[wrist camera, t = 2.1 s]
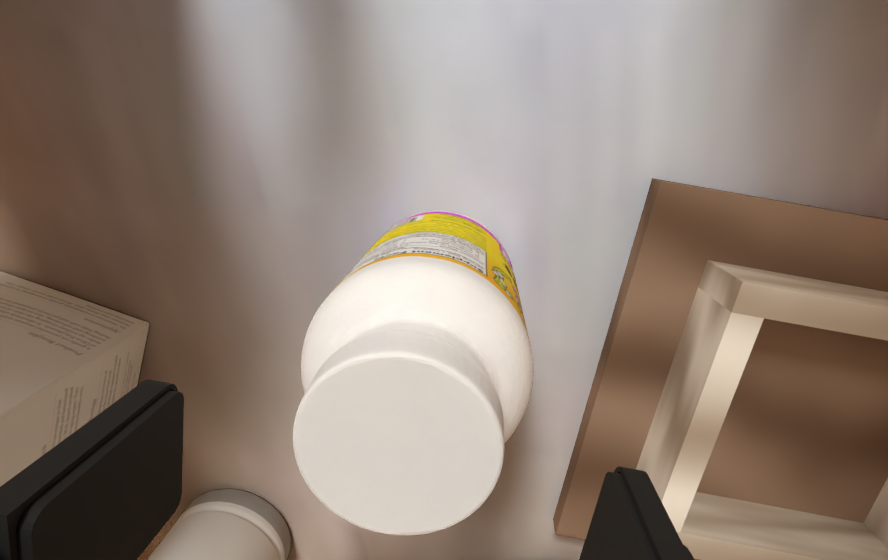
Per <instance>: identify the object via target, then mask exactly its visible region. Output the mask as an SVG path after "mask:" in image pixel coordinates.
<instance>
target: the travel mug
mask: <svg viewBox="0 0 888 560" xmlns="http://www.w3.org/2000/svg"><path fill="white" fill-rule="evenodd" d="M290 548H291V537H290V533H289V529H288V527H287V524H286V522H285V520H284V519H283V517H282V516H281V515H280V513H279V512H278V511H277V510H276V509H275V508H274V507H273V506H272V505H271V504H270V503H268V502H267V501H265V500H264V499H262V498H260V497H258V496H256V495H254V494H252V493H249V492H246V491H242V490H236V489H218V490H213V491H209V492H206V493H204V494H202V495H200V496H198V497H197V498H196V499H194V500H193V501H192V502H191V503H190V504H189V505H188V507H187V508H186V509H185V511H184V512H183V513H182V515H181V516H180V517H179V518H178V520H177V521H176V522H175V524H174V525H173V527H172V528H171V529H170V530H169V532H168V533H167V534H166V535H165V537H164V538H163V539H162V541H161V542H160V543H159V545H158V546H157V547H156V549H155V550H154V551H153V552H152V554H151V555H150V556H149V558H148V559H147V560H287V558H288V556H289V552H290Z"/></svg>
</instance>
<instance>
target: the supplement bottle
mask: <svg viewBox="0 0 888 560" xmlns="http://www.w3.org/2000/svg"><path fill="white" fill-rule="evenodd" d="M301 378H302V384H303V389H304V394H305V395H304V396H303V398H302V401H301V403H300V405H299V407H298V410H297V413H296V416H295V421H294V426H293V448H294V454H295V458H296V462H297V465H298V468H299V470H300V473H301V475H302V477H303V478H304V480H305V482H306V484H307V485H308V487H309V488H310V489H311V491H312V492H313V493H314V494H315V496H316V497H317V498H318V499H319V500H320V501H321V502H322V503H323V504H324V505H325V506H326V507H327V508H328V509H329V510H330V511H332V512H333V513H335V514H336V515H338V516H339V517H341V518H343V519H344V520H346V521H348V522H350V523H352V524H354V525H356V526H358V527H361V528H364V529H367V530H370V531H374V532H379V533H384V534H391V535H419V534H428V533H432V532H436V531H440V530H443V529H446V528H448V527H451V526H453V525H455V524H457V523H459V522H461V521H463V520H464V519H466V518H467V517H469V516H470V515H471V514H473V513H474V512H475V511H476V510H477V509H478V508H479V507H480V506H481V505H482V504H483V503H484V502H485V501H486V500H487V498H488V497H489V496H490V494H491V493H492V491H493V489H494V488H495V486H496V484H497V482H498V479H499V477H500V473H501V470H502V466H503V461H504V444H505V443H506V441H507V440H508V439H509V438H510V437H511V435H512V434H513V433H514V431H515V430H516V428H517V427H518V425H519V423H520V422H521V420H522V418H523V416H524V414H525V411H526V409H527V406H528V403H529V399H530V396H531V391H532V384H533V359H532V352H531V346H530V342H529V337H528V333H527V329H526V325H525V320H524V316H523V312H522V307H521V302H520V297H519V293H518V289H517V284H516V280H515V276H514V272H513V268H512V265H511V262H510V259H509V257H508V254H507V252H506V250H505V249H504V247H503V245H502V244H501V242H500V241H499V240H498V238H497V237H496V236H495V235H494V234H493V233H492V232H491V231H490V230H489V229H488V228H487V227H485V226H484V225H483V224H481V223H480V222H478V221H476V220H475V219H473V218H470V217H468V216H466V215H463V214H460V213H456V212H449V211H427V212H422V213H418V214H415V215H412V216H409V217H407V218H405V219H403V220H401V221H400V222H398V223H396V224H395V225H394V226H392V227H391V228H390V229H389V230H388V231H386V232H385V233H384V234H383V235H382V236H381V237H380V239H379V240H378V241H377V242H376V243H375V244H374V245H373V246H372V248H371V249H370V250H369V251H368V252H367V253H366V254H365V256H364V257H363V258H362V259H361V260H360V261H359V262H358V263H357V265H356V266H355V267H354V268H353V269H352V270H351V271H350V273H349V274H348V275H347V276H346V277H345V278H344V279H343V280H342V281H341V282H340V283H339V284H338V286H337V287H336V288H335V289H334V290H333V291H332V292H331V293H330V295H329V296H328V297H327V298H326V299H325V300H324V302H323V303H322V304H321V306H320V307H319V309H318V310H317V312H316V314H315V315H314V317H313V319H312V321H311V323H310V326H309V328H308V330H307V333H306V336H305V340H304V344H303V349H302V356H301Z"/></svg>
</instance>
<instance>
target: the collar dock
mask: <svg viewBox="0 0 888 560" xmlns="http://www.w3.org/2000/svg"><path fill="white" fill-rule="evenodd" d="M619 466H620V467H625V468H631V469H636V470H642V471H645V472H646V473H647V474H648V476H649V478H650V480H651V482H652V484H653V486H654V488H655V490H656V492H657V494H658V496H659V498H660V500H661V502H662V504H663V506H664V508H665V510H666V512H667V514H668V516H669V518H670V520H671V522H672V524H673V526H674V528H675V530H676V532H677V534H678V536H679V538H680V540H681V542H682V544H683V545H685V546H686V547H687V548H688V549H689V551H690V552H691V554H692V556H693V558H694V560H888V220H886V219H880V218H874V217H869V216H863V215H857V214H852V213H846V212H840V211H835V210H829V209H823V208H818V207H812V206H806V205H801V204H795V203H789V202H783V201H778V200H772V199H766V198H761V197H755V196H749V195H744V194H738V193H732V192H727V191H721V190H715V189H710V188H704V187H698V186H692V185H687V184H681V183H675V182H670V181H664V180H658V179H653V178H652V181H651V185H650V188H649V192H648V195H647V199H646V202H645V206H644V209H643V212H642V216H641V219H640V223H639V226H638V230H637V233H636V236H635V240H634V243H633V247H632V250H631V254H630V257H629V261H628V264H627V267H626V271H625V274H624V278H623V281H622V285H621V288H620V292H619V295H618V298H617V302H616V305H615V309H614V312H613V316H612V319H611V322H610V326H609V329H608V333H607V336H606V340H605V343H604V347H603V350H602V353H601V357H600V360H599V364H598V367H597V371H596V374H595V378H594V381H593V384H592V388H591V391H590V395H589V398H588V402H587V405H586V408H585V412H584V415H583V419H582V422H581V426H580V429H579V433H578V436H577V439H576V443H575V446H574V450H573V453H572V457H571V460H570V464H569V467H568V470H567V474H566V477H565V481H564V484H563V488H562V491H561V494H560V498H559V501H558V505H557V508H556V512H555V515H554V519H553V520H554V526H555V531H556V534H560V535H565V536H570V537H575V538H581V539H586V536H587V533H588V530H589V527H590V523H591V520H592V517H593V514H594V510H595V507H596V504H597V501H598V497H599V494H600V491H601V488H602V484H603V481H604V478H605V475H606V473H607V472H614V471H615V469H616V468H617V467H619Z"/></svg>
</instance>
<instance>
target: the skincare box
mask: <svg viewBox="0 0 888 560" xmlns="http://www.w3.org/2000/svg"><path fill="white" fill-rule="evenodd" d="M148 330H149V323H148V322H146V321H143V320H140V319H137V318H134V317H131V316H128V315H125V314H122V313H120V312H117V311H114V310H111V309H108V308H105V307H103V306H100V305H97V304H94V303H91V302H88V301H85V300H83V299H80V298H77V297H74V296H71V295H68V294H65V293H62V292H60V291H57V290H54V289H51V288H48V287H45V286H42V285H39V284H36V283H34V282H31V281H28V280H25V279H22V278H19V277H16V276H13V275H10V274H7V273H4V272H1V271H0V487H1V486H2V485H3V484H5V483H6V482H7V481H9V480H10V479H11V478H13V477H14V476H16V475H17V474H18V473H20V472H21V471H22V470H24V469H25V468H26V467H28V466H29V465H30V464H32V463H33V462H35V461H36V460H37V459H39V458H40V457H41V456H43V455H44V454H45V453H47V452H48V451H49V450H51V449H52V448H54V447H55V446H56V445H58V444H59V443H60V442H62V441H63V440H64V439H66V438H67V437H68V436H70V435H71V434H73V433H74V432H75V431H77V430H78V429H79V428H81V427H82V426H83V425H85V424H86V423H87V422H89V421H90V420H92V419H93V418H94V417H96V416H97V415H98V414H100V413H101V412H102V411H104V410H105V409H106V408H108V407H109V406H111V405H112V404H113V403H115V402H116V401H117V400H119V399H120V398H121V397H123V396H124V395H125V394H127V393H128V392H130V391H131V390H132V389H134V388H135V387H136V386H137V384H138V379H139V374H140V369H141V364H142V359H143V354H144V349H145V344H146V339H147V334H148Z"/></svg>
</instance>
